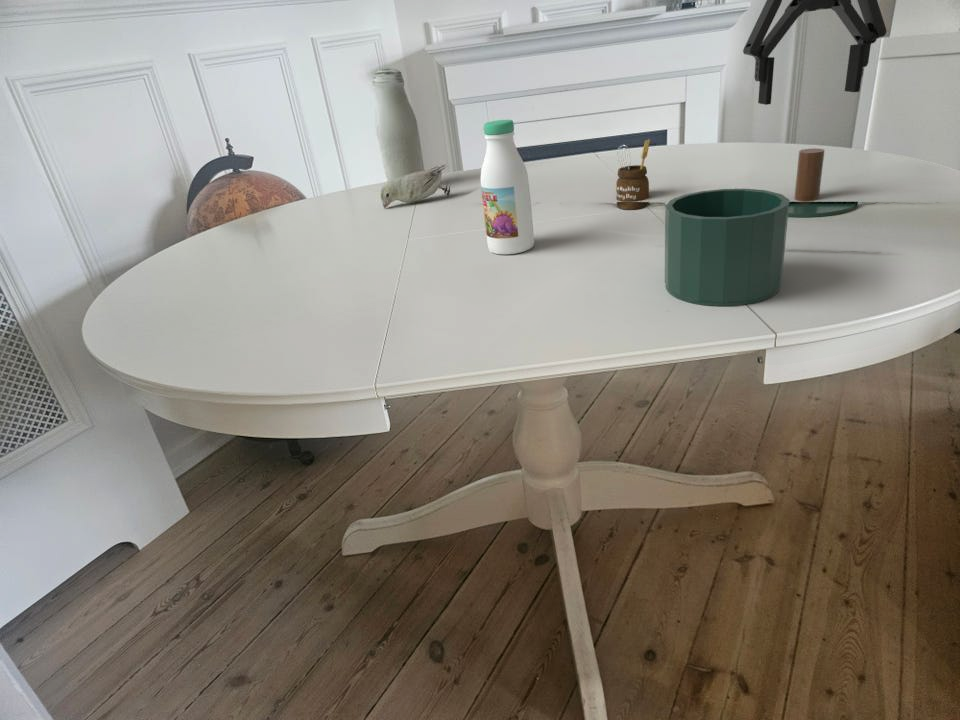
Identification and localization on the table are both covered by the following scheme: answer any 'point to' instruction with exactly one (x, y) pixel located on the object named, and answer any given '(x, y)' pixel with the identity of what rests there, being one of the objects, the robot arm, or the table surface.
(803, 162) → the lid
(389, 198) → the decorative bird
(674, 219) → the canister
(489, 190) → the milk bottle
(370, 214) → the table surface
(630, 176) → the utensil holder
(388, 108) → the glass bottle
